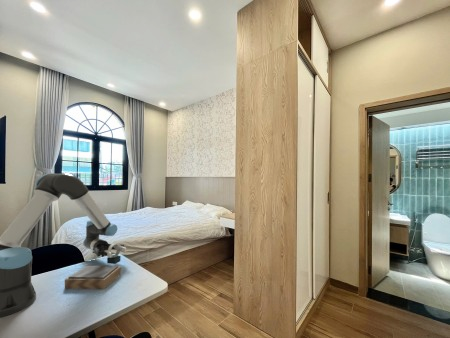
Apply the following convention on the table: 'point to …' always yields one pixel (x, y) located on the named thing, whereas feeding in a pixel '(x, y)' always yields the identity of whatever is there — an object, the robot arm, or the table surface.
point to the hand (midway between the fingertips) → (118, 252)
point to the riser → (93, 277)
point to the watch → (115, 258)
